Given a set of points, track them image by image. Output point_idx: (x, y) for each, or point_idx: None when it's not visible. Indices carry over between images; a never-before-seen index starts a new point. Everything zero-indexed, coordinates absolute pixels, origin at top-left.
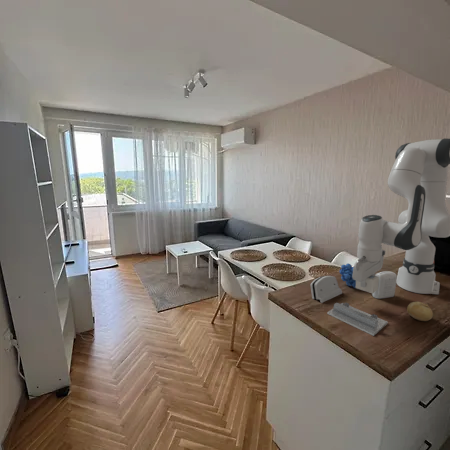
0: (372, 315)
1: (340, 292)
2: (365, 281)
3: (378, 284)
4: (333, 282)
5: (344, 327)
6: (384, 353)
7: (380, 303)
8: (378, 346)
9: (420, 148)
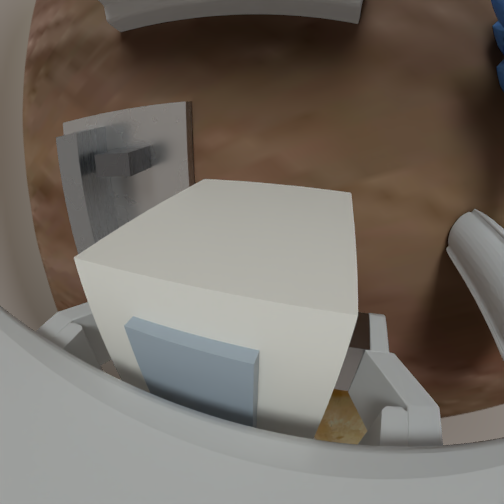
0: None
1: (335, 13)
2: (108, 360)
3: (489, 305)
4: None
5: (63, 216)
6: None
7: (396, 269)
8: None
9: None
